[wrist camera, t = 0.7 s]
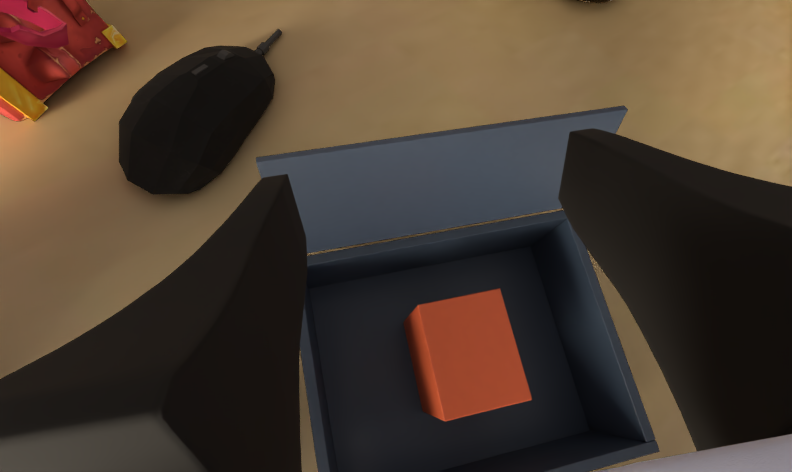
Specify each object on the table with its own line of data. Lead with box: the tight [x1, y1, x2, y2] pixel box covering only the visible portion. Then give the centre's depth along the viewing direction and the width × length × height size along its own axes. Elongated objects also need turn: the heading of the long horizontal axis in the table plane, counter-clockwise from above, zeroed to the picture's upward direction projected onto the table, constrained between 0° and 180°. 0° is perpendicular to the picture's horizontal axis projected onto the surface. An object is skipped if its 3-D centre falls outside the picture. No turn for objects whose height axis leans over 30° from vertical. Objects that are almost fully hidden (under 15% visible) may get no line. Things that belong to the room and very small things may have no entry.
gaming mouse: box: [119, 29, 282, 194], centre depth 27 cm, size 6×15×4 cm, turn 152°
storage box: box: [300, 210, 659, 472], centre depth 23 cm, size 15×12×6 cm
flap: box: [256, 106, 628, 253], centre depth 19 cm, size 15×6×1 cm
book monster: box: [0, 0, 127, 122], centre depth 24 cm, size 11×9×12 cm
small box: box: [403, 288, 532, 421], centre depth 22 cm, size 5×4×6 cm
